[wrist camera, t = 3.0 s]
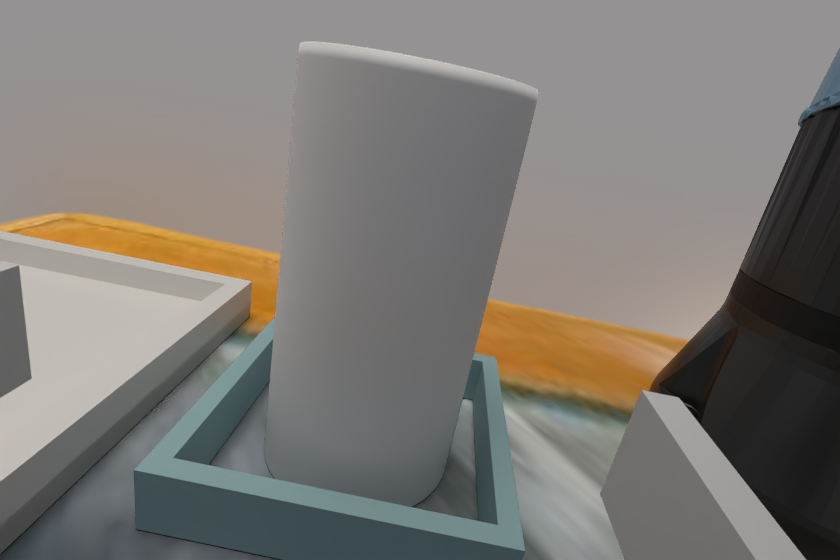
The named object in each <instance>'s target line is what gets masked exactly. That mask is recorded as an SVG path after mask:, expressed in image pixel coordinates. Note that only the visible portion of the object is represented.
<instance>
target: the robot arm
mask: <svg viewBox="0 0 840 560" xmlns="http://www.w3.org/2000/svg"><path fill="white" fill-rule="evenodd" d="M798 125H799V126H800V127H801V128H800V130H799V133H798V135H797V137H796V140H795V142H794V144H793V146H792V149H791V151H790V153H789V156H788V158H787V160H786V163H785V165H784V167H783V170H782V172H781V174H780V177H779V179H778V181H777V184H776V186H775V188H774V191H773V193H772V195H771V197H770V200H769V202H768V205H767V207H766V209H765V211H764V214H763V216H762V218H761V221H760V223H759V225H758V228H757V230H756V232H755V235H754V237H753V239H752V242H751V244H750V246H749V248H748V251H747V253H746V255H745V258H744V260H743V262H742V264H741V267H740V269H739V272H738V274H737V276H736V279H735V281H734V283H733V285H732V287H731V290H730V292H729V294H728V296H727V298H726V301H725V302H724V304H723V305H722V307H721V308H720V310H719V311H718V312H717V313H716V314H715V315H714V316H713V317H712V318H711V319H710V320H709V321H708V322H707V323H706V324H705V325H704V327H703V328H702V329H701V330H700V331H699V332H698V333H697V334H696V335H695V336H694V337H693V338H692V339H691V340H690V341H689V342H688V343H687V344H686V345H685V346H684V347H683V349H682V350H681V351H680V352H679V353H678V354H677V355H676V356H675V357H674V358H673V359H672V360H671V361H670V362H669V363H668V364H667V365H666V366H665V367H664V369H663V370H662V371H661V372H660V373H659V374H658V375H657V377H656V378H655V380H654V381H653V383H652V385H651V388H650V390H649V391H644V390H642V391H641V393H640V396H639V398H638V401H637V403H636V406H635V408H634V411H633V413H632V416H631V418H630V421H629V423H628V426H627V428H626V431H625V433H624V436H623V438H622V441H621V443H620V446H619V448H618V451H617V453H616V456H615V458H614V461H613V463H612V466H611V468H610V471H609V473H608V476H607V479H606V481H605V484H604V486H603V489H602V491H601V494H600V495H601V497H602V500H603V503H604V505H605V508H606V511H607V513H608V516H609V519H610V521H611V524H612V526H613V529H614V532H615V534H616V537H617V540H618V542H619V545H620V548H621V550H622V553H623V556H624V558H625V560H840V49H839V50H838V52H837V54H836V56H835V58H834V60H833V62H832V64H831V66H830V68H829V70H828V72H827V74H826V76H825V78H824V80H823V82H822V83H821V85H820V88H819V90H818V91H817V93H816V96H815V97H814V99H813V101H812V103H811V105H810V107H809V108H807V109H806V110H805V111H804V112H803V113H802V114H801V116H800V119H799V122H798ZM30 379H32V376H31V367H30V358H29V349H28V340H27V332H26V323H25V314H24V305H23V296H22V287H21V278H20V269H19V265H15V264H10V263H5V262H0V398H1V397H3V396H4V395H6V394H8V393H9V392H11V391H12V390H14V389H16V388H17V387H19V386H21V385H22V384H24V383H25V382H27V381H29V380H30Z"/></svg>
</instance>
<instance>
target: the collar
mask: <svg viewBox="0 0 840 560" xmlns="http://www.w3.org/2000/svg"><path fill="white" fill-rule="evenodd" d="M274 325H275V317H274V318H273V320H272V321H271V322H270V323H269V324H268V325H267V326H266V327H265V328H264V329H263V330H262V331H261V333H260V334H259V335H258V336H257V337H256V338H255V339H254V340H253V341H252V342H251V343H250V345H249V346H248V347H247V348H246V349H245V350H244V351H243V352H242V353H241V354H240V355H239V356H238V358H237V359H236V360H235V361H234V362H233V363H232V364H231V365H230V366H229V367H228V368H227V369H226V371H225V372H224V373H223V374H222V375H221V376H220V377H219V378H218V379H217V380H216V381H215V383H214V384H213V385H212V386H211V387H210V388H209V389H208V390H207V391H206V392H205V393H204V394H203V396H202V397H201V398H200V399H199V400H198V401H197V402H196V403H195V404H194V405H193V406H192V408H191V409H190V410H189V411H188V412H187V413H186V414H185V415H184V416H183V417H182V418H181V419H180V421H179V422H178V423H177V424H176V425H175V426H174V427H173V428H172V429H171V430H170V431H169V432H168V434H167V435H166V436H165V437H164V438H163V439H162V440H161V441H160V442H159V443H158V444H157V446H156V447H155V448H154V449H153V450H152V451H151V452H150V453H149V454H148V455H147V456H146V457H145V459H144V460H143V461H142V462H141V463H140V464H139V465H138V466H137V467H136V468H135V469H134V488H135V522H136V529H138V530H143V531H148V532H153V533H157V534H162V535H167V536H172V537H176V538H181V539H186V540H191V541H196V542H200V543H205V544H210V545H215V546H219V547H224V548H229V549H234V550H239V551H243V552H248V553H253V554H258V555H262V556H267V557H272V558H277V559H282V560H522V559H523V556H524V553H525V547H524V540H523V533H522V527H521V520H520V514H519V507H518V500H517V494H516V487H515V481H514V474H513V467H512V461H511V454H510V448H509V441H508V434H507V428H506V421H505V415H504V408H503V401H502V395H501V388H500V381H499V375H498V368H497V362H496V357H491V356H486V355H481V354H476V353H474V355H473V359H472V363H471V367H470V371H469V375H468V379H467V383H466V387H465V391H464V395H463V398H466V399H471V400H473V417H474V438H475V459H476V481H477V502H478V521H476V520H471V519H466V518H461V517H456V516H452V515H447V514H442V513H437V512H432V511H427V510H423V509H418V508H413V507H408V506H403V505H398V504H394V503H389V502H384V501H379V500H374V499H369V498H365V497H360V496H355V495H350V494H345V493H340V492H336V491H331V490H326V489H321V488H316V487H311V486H307V485H302V484H297V483H292V482H287V481H282V480H278V479H273V478H268V477H263V476H258V475H253V474H249V473H244V472H239V471H234V470H229V469H224V468H220V467H215V466H210V465H209V464H210V462H211V461H212V460H213V458H214V457H215V455H216V454H217V453H218V451H219V450H220V448H221V447H222V446H223V444H224V443H225V441H226V440H227V439H228V437H229V436H230V435H231V433H232V432H233V430H234V429H235V428H236V426H237V425H238V423H239V422H240V421H241V419H242V418H243V416H244V415H245V414H246V412H247V411H248V410H249V408H250V407H251V405H252V404H253V403H254V401H255V400H256V398H257V397H258V396H259V394H260V393H261V391H262V390H263V389H264V387H265V386H266V385H267V383H268V382H269V380H270V371H271V360H272V348H273V337H274Z"/></svg>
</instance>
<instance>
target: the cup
mask: <svg viewBox="0 0 840 560" xmlns="http://www.w3.org/2000/svg"><path fill="white" fill-rule="evenodd" d="M537 96H538V90H537V89H535V88H533V87H531V86H529V85H526V84H524V83H521V82H518V81H515V80H512V79H508V78H505V77H501V76H498V75H494V74H491V73H487V72H483V71H479V70H474V69H471V68H467V67H462V66H458V65H454V64H449V63H445V62H440V61H435V60H430V59H426V58H420V57H415V56H410V55H405V54H400V53H395V52H389V51H383V50H377V49H372V48H365V47H358V46H352V45H345V44H336V43H327V42H301V43H300V47H299V52H298V59H297V71H296V81H295V93H294V104H293V115H292V127H291V138H290V150H289V162H288V174H287V185H286V198H285V208H284V221H283V232H282V243H281V255H280V267H279V278H278V290H277V302H276V313H275V325H274V337H273V348H272V360H271V371H270V383H269V395H268V406H267V418H266V430H265V441H264V453H265V459H266V463H267V466H268V468H269V470H270V472H271V474H272V476H273V477H274V478H275V479H278V480H282V481H287V482H292V483H297V484H302V485H307V486H311V487H316V488H321V489H326V490H331V491H336V492H340V493H345V494H350V495H355V496H360V497H365V498H369V499H374V500H379V501H384V502H389V503H394V504H398V505H403V506H408V507H412V506H414V505H416V504H418V503H419V502H421V501H422V500H424V499H425V498H426V497H428V496H429V495H430V494H431V493H432V492H433V491H434V490H435V488H436V487H437V486H438V484H439V482H440V481H441V479H442V476H443V474H444V471H445V467H446V463H447V459H448V455H449V451H450V447H451V443H452V439H453V435H454V431H455V427H456V423H457V419H458V415H459V411H460V407H461V403H462V399H463V395H464V391H465V387H466V383H467V379H468V375H469V371H470V367H471V363H472V359H473V355H474V352H475V348H476V344H477V340H478V336H479V332H480V328H481V324H482V320H483V316H484V312H485V308H486V304H487V300H488V296H489V291H490V287H491V284H492V280H493V276H494V272H495V268H496V264H497V260H498V256H499V252H500V247H501V243H502V239H503V235H504V232H505V228H506V224H507V220H508V216H509V211H510V208H511V204H512V200H513V196H514V192H515V188H516V184H517V180H518V176H519V171H520V168H521V164H522V160H523V155H524V151H525V148H526V144H527V139H528V136H529V132H530V128H531V123H532V119H533V116H534V111H535V107H536V103H537Z"/></svg>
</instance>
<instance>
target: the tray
mask: <svg viewBox="0 0 840 560" xmlns="http://www.w3.org/2000/svg"><path fill="white" fill-rule="evenodd" d="M0 262H5V263H10V264H15V265H19V269H20V278H21V287H22V296H23V305H24V314H25V323H26V332H27V340H28V349H29V358H30V367H31V376H32V379H30V380H29V381H27V382H25V383H24V384H22V385H21V386H19V387H17V388H16V389H14V390H12V391H11V392H9V393H8V394H6V395H4V396H3V397H1V398H0V554H1V553H2V552H3V551H4V550H5V549H6V548H7V547H8V546H9V545H10V544H11V543H13V542H14V541H15V540H16V539H17V538H18V537H19V536H20V535H21V534H22V533H23V532H24V531H25V530H26V529H27V528H28V527H29V526H30V525H31V524H32V523H34V522H35V521H36V520H37V519H38V518H39V517H40V516H41V515H42V514H43V513H44V512H45V511H46V510H47V509H48V508H49V507H50V506H51V505H52V504H53V503H54V502H56V501H57V500H58V499H59V498H60V497H61V496H62V495H63V494H64V493H65V492H66V491H67V490H68V489H69V488H70V487H71V486H72V485H73V484H74V483H75V482H77V481H78V480H79V479H80V478H81V477H82V476H83V475H84V474H85V473H86V472H87V471H88V470H89V469H90V468H91V467H92V466H93V465H94V464H95V463H96V462H98V461H99V460H100V459H101V458H102V457H103V456H104V455H105V454H106V453H107V452H108V451H109V450H110V449H111V448H112V447H113V446H114V445H115V444H116V443H117V442H119V441H120V440H121V439H122V438H123V437H124V436H125V435H126V434H127V433H128V432H129V431H130V430H131V429H132V428H133V427H134V426H135V425H136V424H137V423H138V422H139V421H141V420H142V419H143V418H144V417H145V416H146V415H147V414H148V413H149V412H150V411H151V410H152V409H153V408H154V407H155V406H156V405H157V404H158V403H159V402H160V401H162V400H163V399H164V398H165V397H166V396H167V395H168V394H169V393H170V392H171V391H172V390H173V389H174V388H175V387H176V386H177V385H178V384H179V383H180V382H181V381H183V380H184V379H185V378H186V377H187V376H188V375H189V374H190V373H191V372H192V371H193V370H194V369H195V368H196V367H197V366H198V365H199V364H200V363H201V362H202V361H203V360H205V359H206V358H207V357H208V356H209V355H210V354H211V353H212V352H213V351H214V350H215V349H216V348H217V347H218V346H219V345H220V344H221V343H222V342H223V341H224V340H226V339H227V338H228V337H229V336H230V335H231V334H232V333H233V332H234V331H235V330H236V329H237V328H238V327H239V326H240V325H241V324H242V323H243V322H244V321H245V320H247V319H248V318H249V317H250V306H251V291H252V281H247V280H243V279H238V278H233V277H228V276H223V275H218V274H213V273H208V272H203V271H198V270H193V269H188V268H183V267H178V266H173V265H168V264H163V263H158V262H153V261H148V260H143V259H138V258H133V257H128V256H123V255H118V254H113V253H108V252H103V251H98V250H93V249H88V248H83V247H78V246H73V245H68V244H63V243H58V242H53V241H48V240H43V239H39V238H34V237H29V236H24V235H19V234H14V233H9V232H4V231H0Z"/></svg>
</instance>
